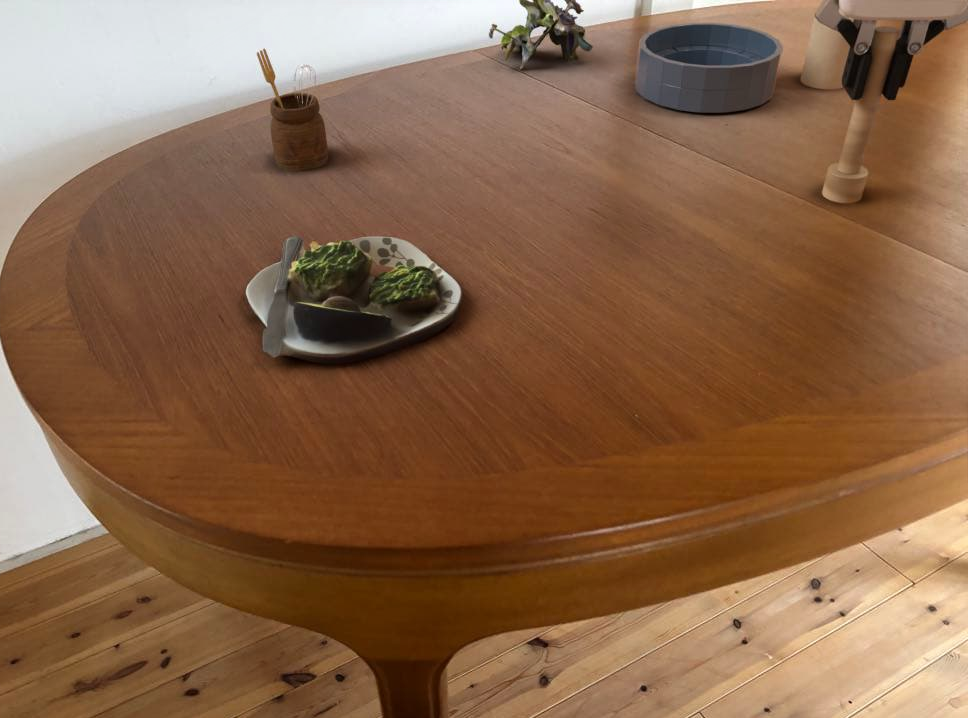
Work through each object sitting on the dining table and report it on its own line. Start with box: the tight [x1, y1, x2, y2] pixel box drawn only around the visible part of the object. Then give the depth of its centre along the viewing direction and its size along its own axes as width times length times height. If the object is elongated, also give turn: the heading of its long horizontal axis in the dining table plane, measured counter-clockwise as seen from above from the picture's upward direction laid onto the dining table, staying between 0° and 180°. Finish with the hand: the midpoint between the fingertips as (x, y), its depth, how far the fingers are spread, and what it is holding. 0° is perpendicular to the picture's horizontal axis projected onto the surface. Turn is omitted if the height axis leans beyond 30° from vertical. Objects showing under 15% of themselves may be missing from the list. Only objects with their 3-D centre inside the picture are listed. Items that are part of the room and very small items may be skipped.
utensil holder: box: [256, 47, 329, 172], centre depth 95 cm, size 6×6×12 cm
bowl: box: [634, 22, 784, 114], centre depth 108 cm, size 16×16×6 cm
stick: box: [821, 25, 901, 204], centre depth 82 cm, size 4×4×16 cm
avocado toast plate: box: [245, 235, 463, 365], centre depth 75 cm, size 19×18×5 cm
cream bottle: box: [800, 8, 852, 90], centre depth 107 cm, size 6×6×10 cm
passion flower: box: [488, 0, 594, 71], centre depth 117 cm, size 11×11×12 cm
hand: (869, 93), depth 80 cm, fingers closed
